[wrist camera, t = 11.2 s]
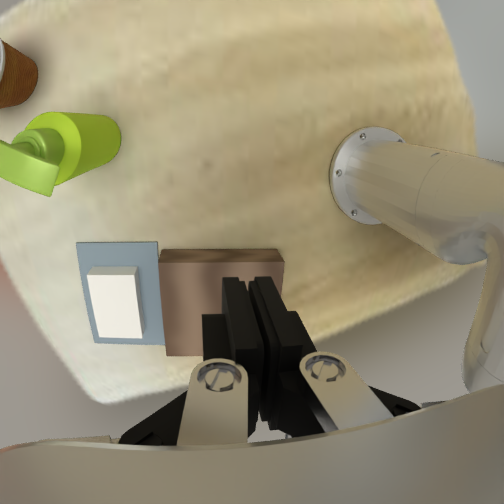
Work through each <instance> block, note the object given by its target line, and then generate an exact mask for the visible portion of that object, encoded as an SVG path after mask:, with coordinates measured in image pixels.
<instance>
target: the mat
mask: <svg viewBox="0 0 504 504" xmlns="http://www.w3.org/2000/svg"><path fill="white" fill-rule="evenodd" d="M76 248H77V255H78V262H79V268H80V275H81V280H82V286H83V292H84V297H85V302H86V307H87V312H88V316H89V321H90V325H91V330H92V334H93V338H94V342H95V343H108V344H137V345H165V338H164V329H163V319H162V308H161V296H160V284H159V269H158V245H157V242H79V243H76ZM98 266H138V275H139V284H140V293H141V302H142V310H143V317H144V324H145V330H144V334H143V338H107V337H99V334H98V330H97V325H96V321H95V316H94V311H93V306H92V301H91V296H90V291H89V285H88V279H87V274H88V273H89V271H90V270H91V268H92V267H98Z"/></svg>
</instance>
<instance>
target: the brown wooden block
mask: <svg viewBox="0 0 504 504" xmlns="http://www.w3.org/2000/svg"><path fill="white" fill-rule="evenodd" d="M284 263H285V262H284V260H283V258H282V257H281V255H280V254H279V252H278V250H277V249H169V250H162V251H161V254H160V258H159V261H158V269H159V284H160V296H161V308H162V319H163V329H164V338H165V347H166V355H167V356H203V342H202V314H222V277H239V281H245V284H246V287H247V290H248V283H249V281H254V278H255V277H258V276H271V277H272V279H273V282H274V284H275V286H276V288H277V290H278V292H279V294H280V296H281V292H282V282H283V272H284Z"/></svg>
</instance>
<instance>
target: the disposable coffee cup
mask: <svg viewBox="0 0 504 504" xmlns="http://www.w3.org/2000/svg"><path fill="white" fill-rule="evenodd" d="M37 78H38V70H37V66H36V64H35V63H34V61H33V60H31V59H30V58H28V57H27V56H25V55H24V54H22V53H21V52H19V51H18V50H16V49H14V48H13V47H11V46H10V45H8V44H7V43H5V42H4V41H2V40H1V38H0V109H1V108H5V107H10V106H15V105H19V104H21V103H23V102H24V101H25V100H27V99H28V98H29V96H30V95H31V94H32V92H33V91H34V88H35V86H36V83H37Z"/></svg>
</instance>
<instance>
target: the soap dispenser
mask: <svg viewBox="0 0 504 504" xmlns="http://www.w3.org/2000/svg"><path fill="white" fill-rule="evenodd" d="M120 144H121V133H120V130H119V127H118V126H117V124H116V123H115V122H114V121H113V120H112V119H111V118H109V117H107V116H103V115H93V114H81V113H67V112H47V113H43V114H41V115H39V116H37V117H36V118H34V119H33V120H32V121H31V122H30V123H29V124H28V126H27V127H26V128H25V130H24V131H22V132H20V133H19V134H18V135H17V136H16V137H15V138H14V140H13V141H12V143H11V144H8V143H6V142H4V141H2V140H0V177H1V178H3V179H5V180H7V181H9V182H11V183H13V184H16V185H18V186H20V187H23V188H25V189H28V190H30V191H33V192H36V193H39V194H42V195H45V196H48V197H51V195H52V192H53V188H54V186H56V185H59V184H61V183H63V182H65V181H68V180H70V179H72V178H74V177H76V176H78V175H81V174H83V173H85V172H87V171H90V170H92V169H94V168H96V167H99V166H101V165H103V164H106V163H108V162H109V161H111V160H112V159H113V158H114V157H115V155H116V154H117V152H118V150H119V148H120Z"/></svg>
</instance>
